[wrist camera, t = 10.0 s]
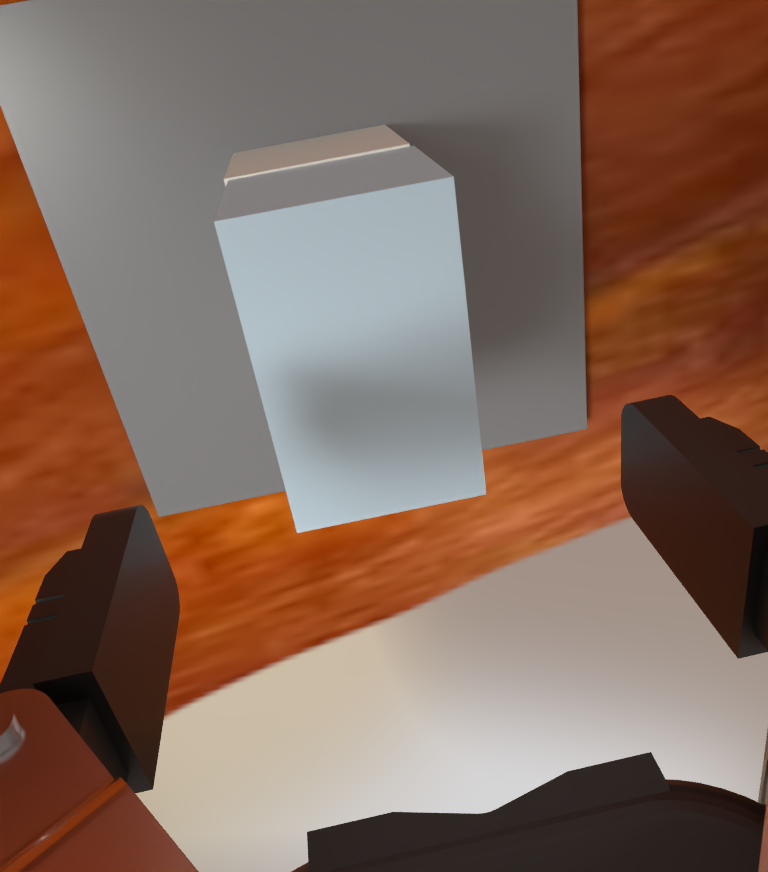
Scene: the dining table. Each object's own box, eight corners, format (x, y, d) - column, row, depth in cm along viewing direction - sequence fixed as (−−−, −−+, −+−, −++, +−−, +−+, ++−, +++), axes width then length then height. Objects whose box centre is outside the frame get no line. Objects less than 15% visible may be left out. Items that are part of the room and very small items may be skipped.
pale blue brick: (227, 180, 19) (213, 221, 15) (413, 145, 19) (453, 176, 15) (293, 439, 23) (297, 533, 19) (447, 409, 23) (486, 494, 19)
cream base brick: (233, 153, 23) (223, 179, 19) (384, 124, 24) (409, 143, 19) (288, 375, 27) (290, 439, 23) (418, 349, 28) (444, 407, 23)
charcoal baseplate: (-24, 13, 22) (-36, 12, 21) (563, -93, 22) (574, -98, 21) (162, 503, 30) (159, 516, 30) (578, 417, 31) (587, 428, 30)
